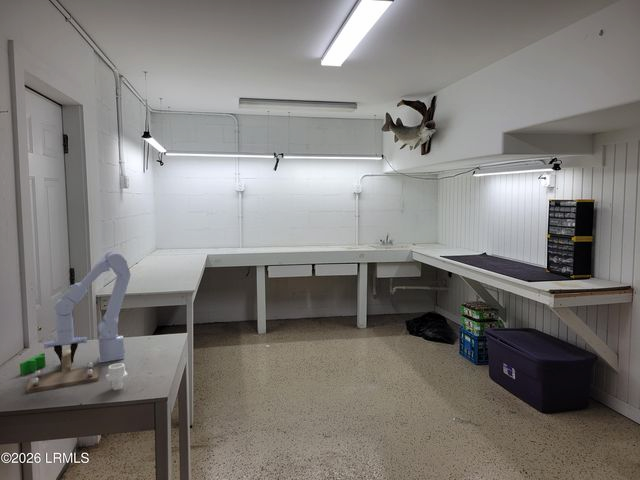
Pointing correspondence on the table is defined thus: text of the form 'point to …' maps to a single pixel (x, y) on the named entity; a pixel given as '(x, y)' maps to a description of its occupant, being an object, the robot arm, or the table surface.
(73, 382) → the peg base
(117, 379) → the pipe fitting
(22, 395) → the table surface
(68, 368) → the pine shelf board
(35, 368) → the green block
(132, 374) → the table surface
